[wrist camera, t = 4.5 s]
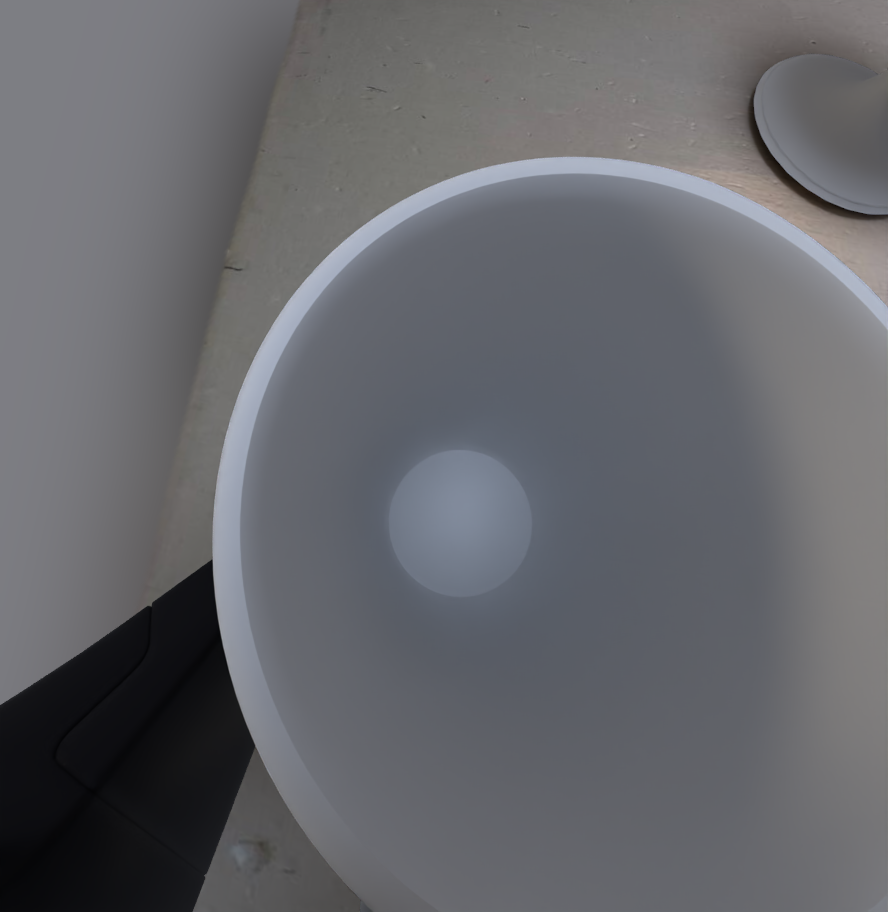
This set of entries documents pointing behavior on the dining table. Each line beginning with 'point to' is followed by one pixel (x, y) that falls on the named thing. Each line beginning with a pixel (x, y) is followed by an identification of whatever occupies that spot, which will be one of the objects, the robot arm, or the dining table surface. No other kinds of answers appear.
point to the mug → (570, 552)
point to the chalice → (828, 128)
